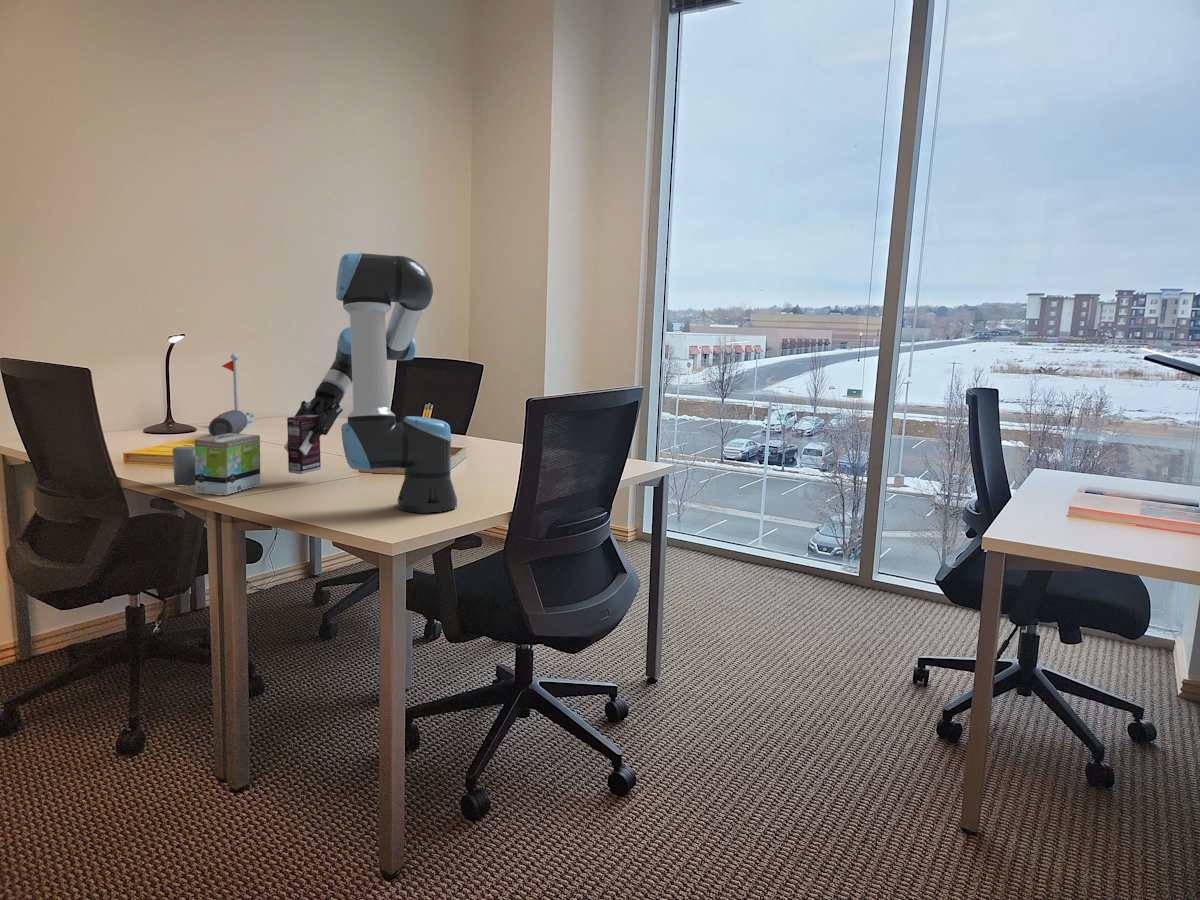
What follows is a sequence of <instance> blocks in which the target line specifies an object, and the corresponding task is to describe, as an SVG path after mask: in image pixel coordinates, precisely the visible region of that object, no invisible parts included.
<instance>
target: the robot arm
mask: <svg viewBox="0 0 1200 900" xmlns="http://www.w3.org/2000/svg"><path fill="white" fill-rule="evenodd" d="M430 276H431V275H429V273H428V272H427V270H426V269H425V268H424V267H423V266H422V265H421V264H420V263H419V262H418V261H416V260H415V259H413V258H411V257H408V256H403V255H388V254H378V253H377V254H376V253H362V252H360V253H359V252H358V253H344V255H342V256H341V258H340V261H339V265H338V271H337V278H336V286H335V293H336V295H335V296H336V299H337V300H338V301H340V302H342V307H343V308H342V309H344V310H345V312H347V313H348V314H349V327H346V328H344V329H343V330H342V331H340V334H339V336H338V339H337V343H336V344H337V346H336V351H335V352H336V353H335V358H334V361H333V362H332V364H331V366H330V368H329V369H328V371H327V372H326V373H325V375H324V377H323V378H322V380H321V382H320V383H319V385H318V387H317V388H316V390H315V393H314V394H315V395H314V397H313V398H312V399H311V400H310V401H308V402H306V401H305V400H303V401H301V403H300V407H299V409H298V410H297V412H296V414H295V415H294V416H301V415H319V417H318V419H317V421H316V424H315V427H314V428H312V430H313V431H314V432H313V431H310V432H309V434H308V435H307V437H306V439H305V440H304V442H303V444H302V445H301V447H300V448H299V449H300V451H301V452H302V453H303V454H304V455H307V453H308V451H309V450H310V448H311V446H312V445H313V444H315V442H316V440H317V439H318V437H319V436H320V437H321V436H328V433H329V431H330V430H331V428H332V427H333V425H334V423H335V422H336V420H337V418H338V417H339V415H340V414H341V413H342V412H343V407H342V406H341V405H340V403H341V402H342V399H343V398H344V396H345V395H346V393H347V391H348V389H349V388H350V386H351V385H352V405H353V406H352V408H353V409H352V411H351V412H350V413H349V414H348V415H347V422H345V423H343V424H342V425H341V427H340V428H341V430H340V431H341V440H342V447H343V451H344V455H345V460H346V462H347V465H348V466H349V468H350V469H352V470H356V471H360V470H361V471H371V470H373V471H375V470H394V469H404V478H403V481H402V485H401V489H400V491H399V494H398V497H397V508H398V509H399V510H401V511H404V512H407V513H413V512H416V514H432V513H431V512H439V513H443V512H442V511H446V512H448V511H447V510H450V511H452V510H451V509H453V510H455V509H456V508H457V507H458V496H457V494H456V491H455V488H454V485H453V481H452V477H451V461H452V460H451V457H452V456H451V454H452V453H451V451H452V450H451V447H452V443H451V442H452V433H451V427H450V424H449V423H447V422H446V421H444V420H441V419H436V418H431V417H424V416H416V415H415V416H413V415H411V416H409V415H408V416H405V417H404V419H403V422H397V420H396V414H395V413H394V412H392V410H391V409H390V406H389V405H390V404H389V382H388V381H389V380H388V361H400V362H403V361H411V360H413V359H414V358H415V356H416V348H417V347H416V340H415V336H414V333H415V331H416V328H417V325H418V323H419V321H420V318H421V316H422V313H423V311H424V310H426V309H427V308H428V307H429V305H430V304H431V302H432V298H433V295H434V285H433V281H432V278H431V277H430ZM392 303H394V305H393V308H392ZM391 309H392V311H391V315H390V317H389V321H388V324H387V327H386V314H387V313H388V312H390V310H391ZM283 448H284V449H285V451H286V452H287V453H288V440H286V443H285V445H284V446H283ZM455 507H456V508H455ZM454 508H455V509H454Z"/></svg>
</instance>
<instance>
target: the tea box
mask: <svg viewBox="0 0 1200 900" xmlns="http://www.w3.org/2000/svg"><path fill="white" fill-rule="evenodd" d="M260 436H261V435H259V434H246V433H239V434H237V433H227V434H222V435H217V436H211V435H210V436H207V437H200V438H197V439H194V446H195V479H196V480H195V485H194V486H195V488H194V489H195V490H194V491H195V493H196V494H201V493H206V494H205V495H210V494H222V495H228V494H230V495H232V494H231V493H233V494H235V492H236V493H238V491H239V492H242V491H241V490H243V491H246V490H249V489H248V488H250V489H253V488H252V487H254V488H256V487H255V486H258V485H260V486H261V437H260ZM258 487H259V486H258ZM245 489H246V490H245ZM228 496H229V495H228Z"/></svg>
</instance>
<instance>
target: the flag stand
mask: <svg viewBox="0 0 1200 900" xmlns="http://www.w3.org/2000/svg"><path fill="white" fill-rule="evenodd" d="M239 356H240V355H239V354H238V353H236V352H233V353H231V355H230V359H231V361H228V362H227V363H224V364H223V365H221V367H222V368H225V369H227V370H229V371H231V372H233V373H232V376H233V377H232V378H233V379H232V380H233V395H234V396H233V404H234V410H239V407H240V406H239V385H238V384H239V382H238V360H239V358H240V357H239ZM239 411H240V410H239ZM221 414H222V413H219V414H218V416H219V415H221ZM245 415H246V417H247V425H246V427H245V428H247V429H251V428H253V427H252V426H253V424H252V423H253V422H254V421H255V413H252V412H246V413H245ZM250 427H251V428H250Z"/></svg>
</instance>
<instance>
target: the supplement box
mask: <svg viewBox="0 0 1200 900" xmlns="http://www.w3.org/2000/svg"><path fill="white" fill-rule="evenodd" d="M318 417H319V415H301V416H295V415H294V416H288V417H287V419H286V420H287V421H286V422H287V423H286V425H287V441H288V452H287V459H288V460H287V461H288V474H289V473H291V474H297V475H304V474H306V473H310V472H314V471H319V470H321V469H322V468H321V465H322V464H321V463H322V462H321V438H320V437H321V436H319V437H318V439H317V440H316V442H315V444H313V445H312V446H311V448H310V450H309V451H308V453H307V455H304V454H303V453H302V452H301V451H300V449H299V448H300V447H301V445H302V444H303V442H304V440H305V439H306V437H307V435H308V434H309V432H310V431H313V430H312V428H314V427H315V424H316V421H317V419H318ZM313 432H314V431H313Z"/></svg>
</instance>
